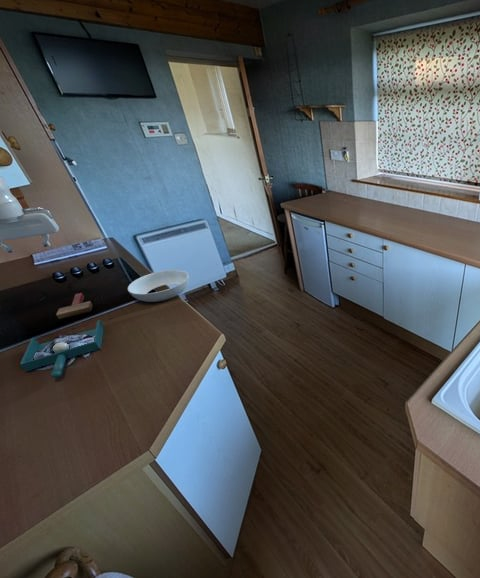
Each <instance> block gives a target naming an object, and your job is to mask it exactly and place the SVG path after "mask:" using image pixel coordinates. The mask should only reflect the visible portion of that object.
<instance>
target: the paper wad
mask: <svg viewBox="0 0 480 578" xmlns="http://www.w3.org/2000/svg"><path fill="white" fill-rule="evenodd" d="M67 349H69V344H67V343H65V342H59V343H56V344H55V345H54V346H53V351H54V352H55V353H57V352H61V351H64V350H67Z"/></svg>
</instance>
